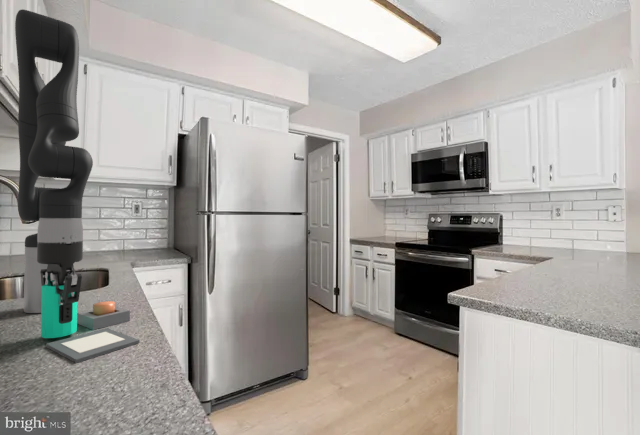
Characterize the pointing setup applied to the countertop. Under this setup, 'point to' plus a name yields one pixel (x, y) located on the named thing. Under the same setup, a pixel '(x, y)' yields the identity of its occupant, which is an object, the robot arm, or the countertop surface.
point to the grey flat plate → (91, 344)
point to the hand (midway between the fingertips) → (59, 319)
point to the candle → (55, 315)
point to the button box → (103, 318)
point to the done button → (103, 308)
